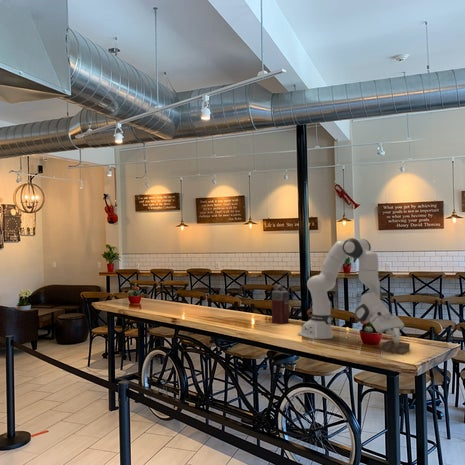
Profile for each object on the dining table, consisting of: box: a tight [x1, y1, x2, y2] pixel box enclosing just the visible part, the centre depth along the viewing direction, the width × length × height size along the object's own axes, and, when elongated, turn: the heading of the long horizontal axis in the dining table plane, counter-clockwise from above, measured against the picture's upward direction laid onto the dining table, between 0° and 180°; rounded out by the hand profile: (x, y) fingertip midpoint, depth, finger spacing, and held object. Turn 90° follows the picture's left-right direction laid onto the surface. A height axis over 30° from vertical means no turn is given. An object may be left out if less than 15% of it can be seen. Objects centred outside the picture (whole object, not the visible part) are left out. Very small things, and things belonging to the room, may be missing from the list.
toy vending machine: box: [271, 284, 290, 325], centre depth 329 cm, size 9×11×28 cm
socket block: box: [381, 339, 411, 356], centre depth 245 cm, size 11×10×4 cm
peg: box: [392, 328, 400, 344], centre depth 245 cm, size 3×3×10 cm
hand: (397, 336), depth 245 cm, fingers closed on peg, 3 cm apart
